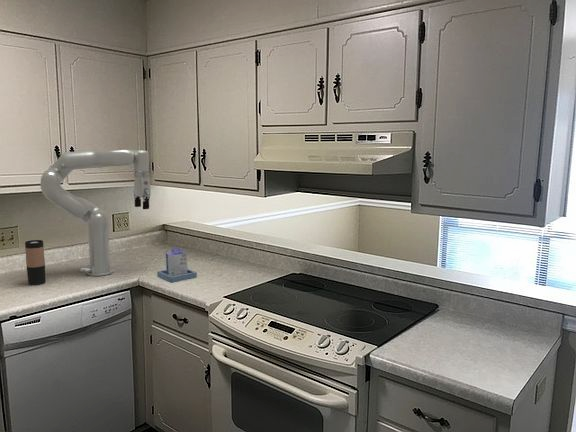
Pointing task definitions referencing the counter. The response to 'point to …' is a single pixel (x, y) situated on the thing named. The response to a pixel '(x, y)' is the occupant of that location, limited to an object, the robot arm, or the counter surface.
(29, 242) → the travel mug
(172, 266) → the ink cartridge box
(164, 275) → the frame
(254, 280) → the counter surface
